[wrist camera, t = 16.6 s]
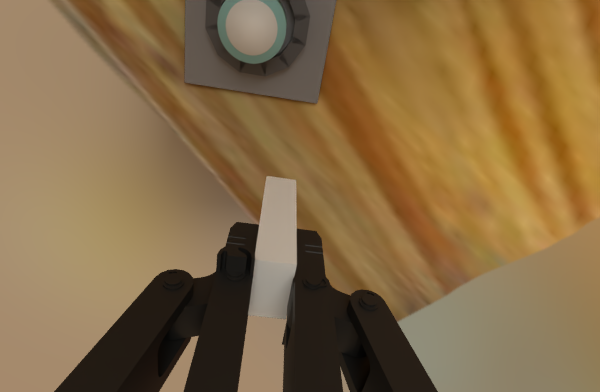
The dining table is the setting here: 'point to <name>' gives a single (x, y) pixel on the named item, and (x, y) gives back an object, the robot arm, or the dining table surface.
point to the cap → (252, 29)
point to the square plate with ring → (272, 73)
